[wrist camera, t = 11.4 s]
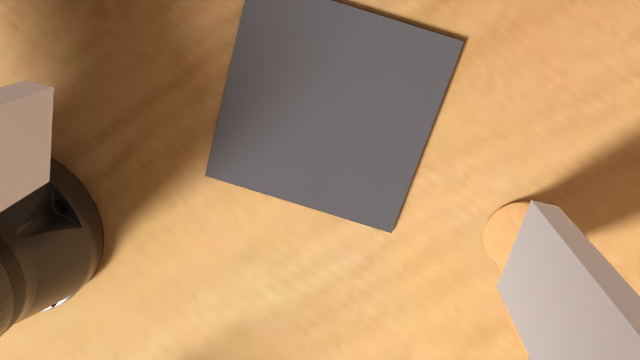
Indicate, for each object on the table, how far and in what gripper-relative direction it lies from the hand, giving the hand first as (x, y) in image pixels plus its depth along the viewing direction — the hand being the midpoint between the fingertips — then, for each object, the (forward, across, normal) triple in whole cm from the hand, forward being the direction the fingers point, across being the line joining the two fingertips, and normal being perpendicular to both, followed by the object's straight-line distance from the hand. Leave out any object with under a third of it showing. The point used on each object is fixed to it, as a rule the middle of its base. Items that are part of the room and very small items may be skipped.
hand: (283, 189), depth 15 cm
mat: (+27, 0, -4) cm, 28 cm away
